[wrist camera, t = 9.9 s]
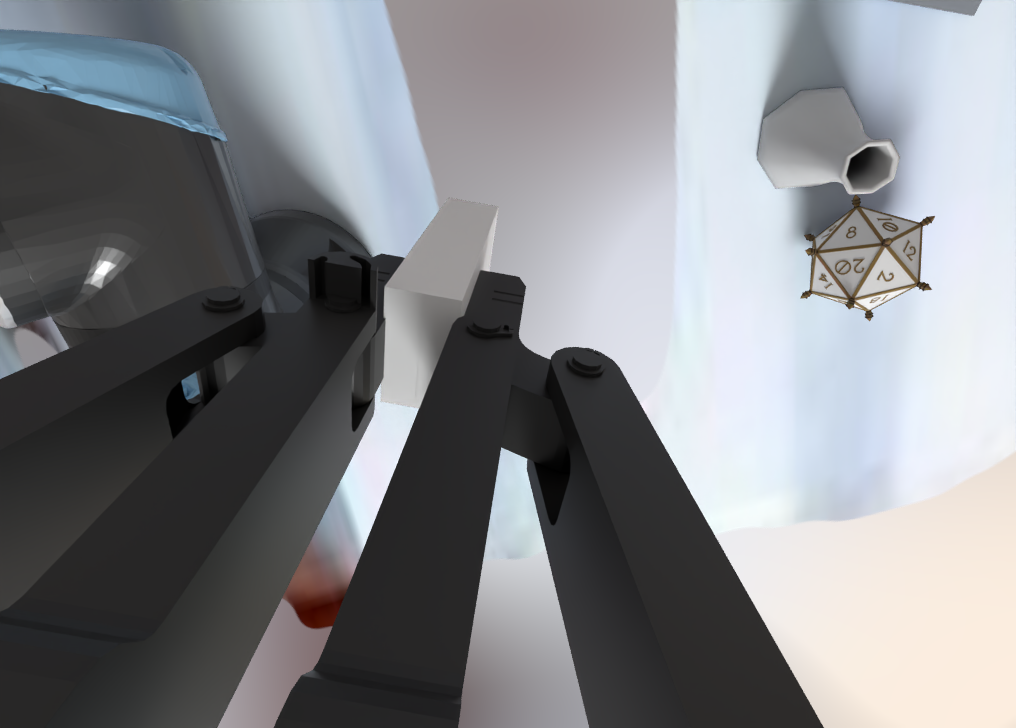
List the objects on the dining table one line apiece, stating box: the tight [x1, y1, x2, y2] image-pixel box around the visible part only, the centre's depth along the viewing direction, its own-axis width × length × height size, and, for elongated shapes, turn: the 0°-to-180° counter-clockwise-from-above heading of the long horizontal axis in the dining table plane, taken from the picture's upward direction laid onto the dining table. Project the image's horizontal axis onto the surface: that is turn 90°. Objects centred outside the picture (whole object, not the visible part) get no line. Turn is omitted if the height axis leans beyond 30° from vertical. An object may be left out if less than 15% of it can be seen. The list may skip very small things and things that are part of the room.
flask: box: [757, 87, 900, 194], centre depth 36 cm, size 7×7×10 cm
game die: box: [801, 195, 935, 321], centre depth 41 cm, size 9×8×10 cm
